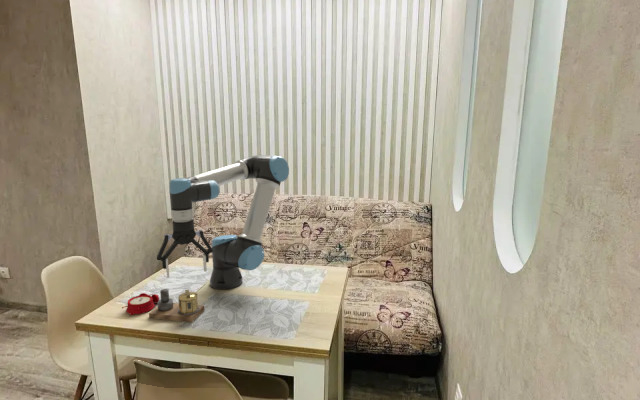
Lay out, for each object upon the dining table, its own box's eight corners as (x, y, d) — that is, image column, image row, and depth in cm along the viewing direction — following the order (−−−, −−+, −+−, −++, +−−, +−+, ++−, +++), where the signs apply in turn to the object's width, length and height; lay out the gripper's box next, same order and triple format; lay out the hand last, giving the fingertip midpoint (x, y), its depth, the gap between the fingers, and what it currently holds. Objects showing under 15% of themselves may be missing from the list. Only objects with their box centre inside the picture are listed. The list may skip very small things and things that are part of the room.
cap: (178, 307, 147) (177, 290, 145) (196, 304, 150) (195, 287, 148) (180, 315, 141) (179, 297, 139) (199, 311, 143) (198, 294, 142)
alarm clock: (117, 306, 145) (141, 283, 159) (121, 319, 148) (144, 295, 161) (140, 308, 143) (163, 285, 157) (144, 321, 146) (166, 298, 159)
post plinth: (149, 318, 143) (147, 295, 142) (164, 306, 153) (162, 284, 151) (191, 322, 140) (190, 298, 138) (204, 310, 150) (203, 288, 148)
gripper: (146, 226, 130) (151, 282, 134) (218, 218, 141) (221, 271, 145) (146, 221, 137) (151, 275, 141) (215, 214, 147) (218, 265, 151)
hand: (187, 273), depth 143 cm, fingers open, 13 cm apart
